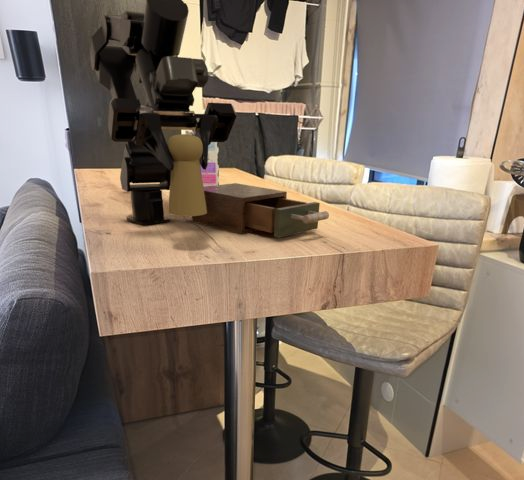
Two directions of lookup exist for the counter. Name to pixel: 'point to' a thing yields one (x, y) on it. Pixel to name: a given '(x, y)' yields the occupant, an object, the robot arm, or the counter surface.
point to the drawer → (283, 216)
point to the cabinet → (232, 205)
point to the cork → (186, 176)
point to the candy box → (210, 164)
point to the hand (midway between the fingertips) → (188, 168)
